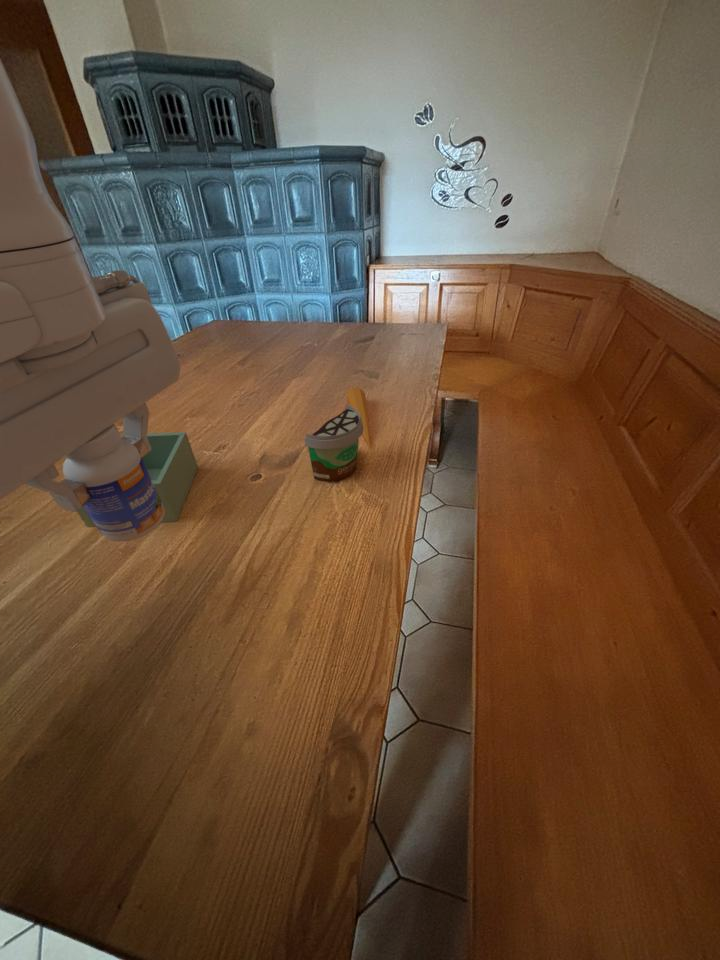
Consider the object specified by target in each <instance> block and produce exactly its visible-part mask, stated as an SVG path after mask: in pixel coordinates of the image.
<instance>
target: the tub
mask: <svg viewBox="0 0 720 960" xmlns="http://www.w3.org/2000/svg"><path fill="white" fill-rule="evenodd" d="M123 436H124V434H121V438H122V437H123ZM146 436H147V438H148V441H149V443H150V445H151V448H152V450H151V451H150V452H148V453H147V454H146V455H145V456H143V457H142V460H143V462H144V464H145V467H146V469H147V471H148V473H149V475H150V478H151V480H152V482H153V484H154V486H155V488H156V490H157V493H158V495H159V497H160V499H161V501H162V503H163V506H164V509H165V514H164V517H163V520H162V521H161V523H172V522H173V523H175V522H178V521H179V518H180V515H181V512H182V511H183V508H184V505H185V503H186V500H187V497H188V495H189V492H190V490H191V487H192V485H193V482H194V479H195V477H196V475H197V473H198V470H199V465H198V463H197V460H196V456H195V454H194V451H193V449H192V448H193V447H192V445H191V443H190V439H189V437H188V434H187V431H180V432H179V431H178V432H177V431H175V432H157V433H156V432H155V433H147V434H146ZM76 512H77V514H78V516H79V517H80V519H81V520H82V522H83V523H84V524H85V526H86V527H97V526H96V525H95V523H94V522H93V520H92V519H91V517H90V515H89V514H88V512H87V511H86V509H85V508H84V506H83V507H81V508H80V509H79V510H78V511H76Z"/></svg>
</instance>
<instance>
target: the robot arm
mask: <svg viewBox="0 0 720 960" xmlns="http://www.w3.org/2000/svg"><path fill="white" fill-rule="evenodd" d="M25 114H26V113H25V112H24V110H23V107H22V105H21V103H20V100H19V98H18V95H17V93H16V91H15V89H14V87H13V83H12V81H11V79H10V77H9V75H8V72H7V70H6V67H5V65H4V63H3V61H2V58H0V501H1V500H3V499H5V498H6V497H7V496H9V495H11V494H12V493H13V492H15V491H17V490H19V488H21V487H22V486H25V485H26V486H29V487H32V488H35V489H37V490H40V491H43V492H46V493H48V494H49V495H50V496H51V497H52V499H53V501H54V502H55V504H57V506H59V507H60V508H61V509H63V510H66V511H69V512H74V513H76V512H77V511H78V510H79V509H80V508H81V507H83V506H84V505H85V504H86V503H87V502H89V501H90V500H91V499H92V496H91V495H90V494H88V493H87V488H86V486H85V485H84V483H81V482H77V481H76V482H72V480H68V479H66V478H64V479H62V480H60V482H58V481H55V480H54V479H56V478H58V477H59V476H60V471H59V470H58V469H57V467H56V465H55V464H57V463H58V462H60V461H61V460H63V459H64V458H66V457H65V456H67V455H68V454H70V453H71V452H73V451H74V450H76V449H77V448H79V447H80V446H82V445H83V444H85V443H86V442H88V441H89V440H91V439H92V438H94V437H95V436H97V435H98V434H100V433H101V432H102V431H104V430H105V429H107V428H108V427H110V426H111V425H113V424H116V423H117V422H119V421H121V420H122V424H123V426H122V428H123V435H124V436H123V437H122V438H121V440H125V441H128V442H130V443H132V444H133V445H134V446H135V447H136V448H137V450H138V452H139V454H140V456H141V458H142V457H143V456H145V455H146V454H147V453H148V452H150V451H151V450H152V448H151V445H150V443H149V441H148V438H147V436H146V434H148V428H149V418H150V410H149V408H148V406H147V402H149V401H150V400H152V399H153V398H155V397H156V396H157V395H159V394H160V393H162V392H164V391H165V390H166V389H168V388H169V387H171V386H172V385H174V384H175V383H177V382H178V381H179V379H180V377H181V376H180V375H181V368H182V367H181V362H180V359H179V356H178V354H177V351H176V348H175V345H174V344H173V341H172V338H171V336H170V334H169V332H168V330H167V327H166V325H165V323H164V321H163V319H162V317H161V315H160V314H159V311H157V309H156V308H155V306H154V305H153V303H152V299H151V296H150V293H149V291H148V288H147V286H146V285H145V283H143V282H141V281H140V279H138V277H136V276H134V275H132V274H129V273H128V272H127V271H125V270H121V269H120V270H119V269H118V270H112V271H110V272H107V274H105V275H104V274H103V275H99V276H92V275H91V273H90V271H89V269H88V267H87V264H86V260H85V258H84V256H83V254H82V251H81V249H80V247H79V244H78V242H77V240H76V238H75V234H74V232H73V230H72V228H71V226H70V224H69V223H68V221H67V219H66V218H65V217H64V216H63V214H62V213H61V211H60V210H59V208H58V207H57V206H56V204H55V203H54V201H53V199H52V197H51V195H50V193H49V191H48V189H47V187H46V184H45V182H44V179H43V175H42V172H41V170H40V169H41V168H40V165H39V159H38V151H37V145H36V140H35V137H34V134H33V132H32V130H31V127H30V124H29V122H28V119H27V117H26V115H25Z"/></svg>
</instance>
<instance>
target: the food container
mask: <svg viewBox="0 0 720 960" xmlns="http://www.w3.org/2000/svg"><path fill="white" fill-rule="evenodd" d="M362 433H363V423H362V419H361V417H360V415H359V413H358V411H357V410H356V409H354V408H353V407H351V406H349V405H348V403H346V404H345V409H344V410H342V412H340V413H339V414H338V415H336V416H334V417H332V418H330V419H328V420H327V421H326V422H325V423H324V424H322V426H320V427H319V429H318V430H316V431H315V432H313V433H312V434H310V433H305V437H304V446H305V447H307V449H308V454H309V459H310V463H311V469H312V473H313V479H315V480H317V481H321V482H326V483H327V482H328V483H333V482H339V481H342V480H346V479H347V478H349V477H351V476H353V474H354V473H355V472H356V470H357V466H358V465H357V464H358V453H359V441H360V437H361V436H363V435H362Z"/></svg>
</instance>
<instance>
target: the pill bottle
mask: <svg viewBox="0 0 720 960" xmlns="http://www.w3.org/2000/svg"><path fill="white" fill-rule="evenodd" d="M121 435H122V434H121V432H120V431H119V429H118V428H117V426H116V423H114V424H113V425H111V426H110V427H108V428H107V429H105V430H104V431H102V432H101V433H100V434H98V435H97V436H95V437H94V438H92V439H91V440H89V441H88V442H86V443H85V444H83V445H82V446H80V447H79V448H77V449H76V450H74V451H73V452H71V453H70V454H68V455H67V456H65V457H64V458H66V459H65V460H64V462H63V464H62V474H63V476H64V479H68V480H72V482H76V481H77V482H81V483H84V485H85V486H86V488H87V493H88V494H90V495H91V496H92V499H91V500H90V501H89V502H87V503H86V504H85V505H84V508H85V509H86V511H87V512H88V514H89V515H90V517H91V519H92V520H93V522H94V523H95V525H96V526H95V527H96V528H97V530H98V531H99V532H100V534H101V535H102V536H103V537H104V538H105V539H107V540H110V541H113V542H130V541H134V540H138V539H140V538H143V537H144V536H146V535H148V534H150V533H151V532H153V531H154V530H155V529H156V528H158V526H159V525H160V524H161V523H162V522H161V521H162V520H163V517H164V514H165V509H164V506H163V503H162V501H161V499H160V497H159V495H158V493H157V490H156V488H155V486H154V484H153V482H152V480H151V478H150V475H149V473H148V471H147V469H146V467H145V464H144V462H143V460H142V458H141V456H140V454H139V452H138V450H137V448H136V447H135V446H134V445H133V444H132V443H130V442H128V441H125V440H121Z"/></svg>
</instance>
